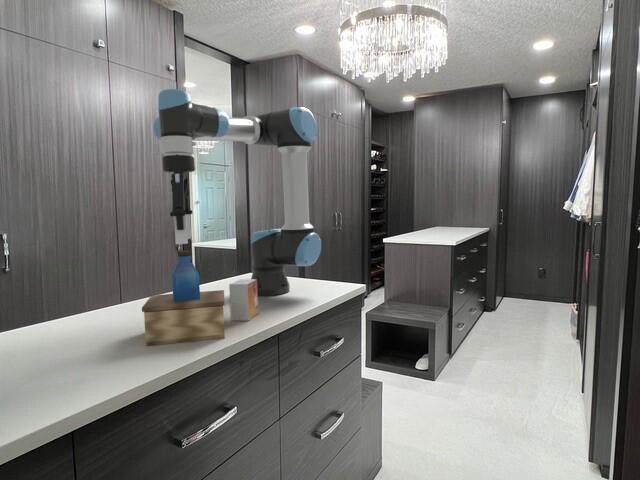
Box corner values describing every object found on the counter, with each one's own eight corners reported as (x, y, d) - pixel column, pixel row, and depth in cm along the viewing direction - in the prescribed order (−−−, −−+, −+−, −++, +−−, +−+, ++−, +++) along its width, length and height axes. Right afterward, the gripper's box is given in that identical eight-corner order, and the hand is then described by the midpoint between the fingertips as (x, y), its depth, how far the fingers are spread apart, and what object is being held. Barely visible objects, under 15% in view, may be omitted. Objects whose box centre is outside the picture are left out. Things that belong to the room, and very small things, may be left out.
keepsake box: (224, 322, 115) (222, 294, 114) (224, 338, 101) (223, 306, 101) (155, 329, 111) (153, 299, 110) (146, 346, 97) (143, 312, 96)
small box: (249, 321, 116) (247, 284, 115) (230, 320, 117) (228, 283, 116) (259, 313, 123) (257, 278, 122) (241, 313, 125) (239, 278, 124)
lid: (224, 293, 114) (223, 287, 114) (224, 305, 101) (224, 297, 100) (151, 299, 110) (151, 292, 110) (142, 311, 96) (141, 304, 96)
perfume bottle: (173, 297, 107) (170, 251, 106) (197, 294, 109) (195, 249, 108) (173, 301, 101) (171, 253, 100) (200, 299, 103) (197, 251, 102)
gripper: (190, 149, 91) (197, 245, 93) (196, 160, 115) (201, 236, 117) (154, 149, 89) (161, 247, 91) (168, 160, 113) (173, 238, 115)
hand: (184, 241), depth 104 cm, fingers open, 13 cm apart
